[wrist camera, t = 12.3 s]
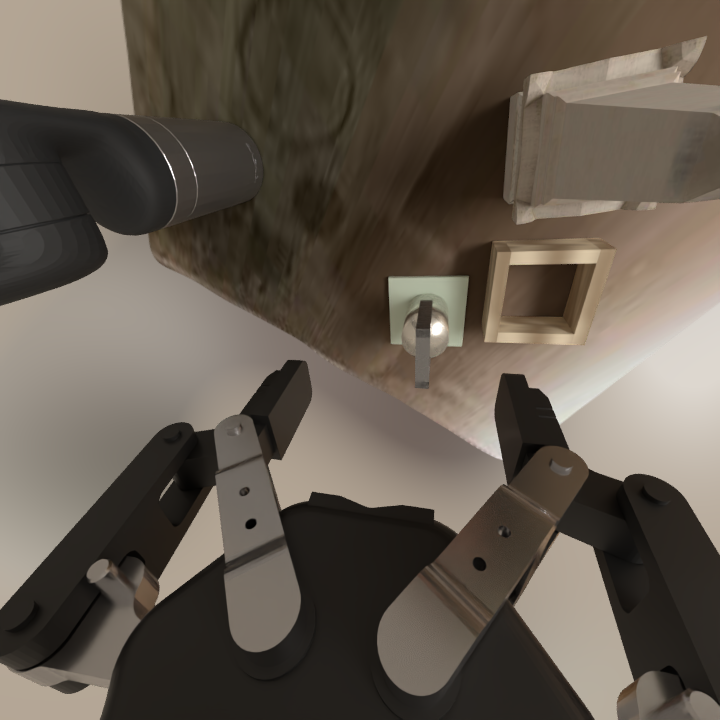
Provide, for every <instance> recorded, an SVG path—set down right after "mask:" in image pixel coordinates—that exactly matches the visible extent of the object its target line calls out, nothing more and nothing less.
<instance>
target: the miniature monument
mask: <svg viewBox="0 0 720 720" xmlns="http://www.w3.org/2000/svg"><path fill="white" fill-rule="evenodd" d="M706 39H707V36H706V37H701V38H697V39H693V40H689V41H685V42H681V43H678V44H674V45H671V46H667V47H664V48H661V49H656V50H651V51H646V52H640V53H635V54H630V55H625V56H620V57H615V58H610V59H605V60H601V61H597V62H593V63H589V64H584V65H580V66H576V67H572V68H568V69H563V70H559V71H555V72H552V71H550V72H542V73H537V74H532V75H530V76H528V77H527V78H526V79H524V86H523V92H519V93H516V94H515V95H513V96H512V97H510V109H509V123H508V137H507V151H506V165H505V179H504V193H503V199H504V200H505V201H506V202H507V203H508V204H513V212H512V220H513V221H514V222H515V223H516V225H517V224H523V223H528V222H531V221H534V220H535V219H540V218H555V217H570V216H582V215H588V214H594V213H600V212H606V211H612V210H619V209H625V210H651V209H655V208H656V204H657V202H659V203H690V202H699V201H708V200H716V199H720V86H714V85H701V84H688V83H683V77H685V76H686V75H687V74H688V73H689V72H690V71H691V69H692V68H693V67H694V65H695V64H696V62H697V60H698V58H699V56H700V54H701V52H702V50H703V47H704V44H705V41H706Z"/></svg>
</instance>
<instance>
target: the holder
mask: <svg viewBox="0 0 720 720" xmlns="http://www.w3.org/2000/svg"><path fill="white" fill-rule="evenodd" d="M616 250H617V249H616V248H614V247H613V246H611V245H610V244H608V243H607V242H605V241H604V240H602V239H600V238H573V239H543V240H512V241H492V248H491V256H490V264H489V271H488V279H487V286H486V294H485V301H484V309H483V317H482V324H481V325H482V331H483V336H484V341H485V342H503V343H534V344H565V345H585V342H586V339H587V336H588V333H589V330H590V327H591V324H592V321H593V318H594V315H595V312H596V309H597V306H598V303H599V301H600V298H601V295H602V292H603V289H604V286H605V283H606V280H607V277H608V274H609V271H610V268H611V265H612V262H613V259H614V256H615V253H616ZM531 264H578V265H577V268H576V272H575V276H574V279H573V283H572V286H571V290H570V293H569V297H568V300H567V304H566V308H565V311H564V315H563V317H539V316H501V312H502V306H503V300H504V294H505V288H506V282H507V276H508V270H509V265H531Z"/></svg>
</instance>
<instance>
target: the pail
mask: <svg viewBox="0 0 720 720" xmlns="http://www.w3.org/2000/svg"><path fill="white" fill-rule="evenodd" d="M401 341H402V344H403V347H404V348H405V350H406V351H407V352H408V353H410V354H411V355H413V356H415V388H425V389H428V388H429V374H430V359H431V358H433V357H436V356H438V355H440V354H441V353H442V352H443V351H444V350H445V349H446V347H447V345H448V342H449V319H448V306H447V304H446V302H445V301H444V299H443V298H441V297H440V296H438V295H436V294H433V293H423V294H420V295H418V296H416V297H415V298H413V299H412V300H411V302H410V303H409V305H408V308H407V313H406V317H405V322H404V326H403V331H402V335H401Z"/></svg>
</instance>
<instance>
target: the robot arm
mask: <svg viewBox="0 0 720 720" xmlns="http://www.w3.org/2000/svg"><path fill="white" fill-rule="evenodd" d="M262 180H263V165H262V160H261V156H260V153H259V151H258V149H257V147H256V145H255V143H254V142H253V140H252V139H251V137H250V136H249V135H248V134H247V133H246V132H245V131H244V130H242V129H241V128H240V127H238V126H236V125H234V124H232V123H228V122H220V121H208V120H195V119H181V118H167V117H153V116H136V115H121V114H110V113H98V112H93V111H87V110H78V109H66V108H57V107H49V106H42V105H34V104H27V103H21V102H14V101H8V100H1V99H0V306H1V305H4V304H8V303H11V302H15V301H18V300H21V299H24V298H28V297H31V296H34V295H37V294H40V293H43V292H46V291H49V290H52V289H55V288H58V287H61V286H64V285H66V284H69V283H72V282H74V281H77V280H79V279H81V278H83V277H85V276H87V275H89V274H91V273H92V272H94V271H96V270H97V269H99V268H100V267H101V266H102V265H103V264H104V262H105V261H106V259H107V255H108V250H107V247H106V244H105V241H104V239H103V236H102V234H101V232H100V230H99V228H98V226H97V224H96V222H97V223H98V224H100V225H101V226H103V227H105V228H107V229H109V230H111V231H114V232H116V233H119V234H123V235H142V234H147V233H150V232H153V231H156V230H159V229H163V228H166V227H169V226H172V225H175V224H178V223H181V222H184V221H187V220H190V219H193V218H196V217H200V216H203V215H206V214H209V213H212V212H215V211H218V210H221V209H225V208H228V207H231V206H234V205H237V204H240V203H243V202H246V201H249V200H250V199H252V198H253V197H254V196H255V195H256V194H257V193H258V191H259V189H260V187H261V184H262ZM311 397H312V388H311V381H310V377H309V371H308V366H307V363H306V361H300V360H288V361H287V362H286V363H285V364H284V366H283V367H282V369H281V370H279V371H278V370H276V371H275V372H273V373H272V374H270V375H269V376H268V377H267V378H266V379H265V380H264V381H263V383H262V384H261V386H260V387H259V388H258V390H257V392H256V393H255V394H254V395H253V396H252V398H251V399H250V401H249V402H248V403H247V405H246V406H245V407H244V409H243V410H242V412H241V413H240V414H239V415H233V416H230V417H228V418H226V419H224V420H223V421H221V422H220V423H219V424H218V425H217V427H216V428H215V429H212V430H206V431H199V432H194V429H193V427H192V426H191V425H190V424H189V423H185V422H181V423H175V424H172V425H169V426H167V427H165V428H163V429H162V430H160V431H159V432H158V433H157V434H156V435H155V436H154V437H153V438H152V439H151V441H150V442H149V443H148V444H147V445H146V446H145V447H144V448H143V450H142V451H141V452H140V453H139V454H138V455H137V456H136V457H135V459H134V460H133V461H132V462H131V463H130V464H129V465H128V466H127V468H126V469H125V470H124V471H123V472H122V473H121V474H120V476H119V477H118V478H117V479H116V480H115V481H114V482H113V483H112V484H111V486H110V487H109V488H108V489H107V490H106V491H105V492H104V493H103V495H102V496H101V497H100V498H99V499H98V500H97V501H96V503H95V504H94V505H93V506H92V507H91V508H90V509H89V510H88V512H87V513H86V514H85V515H84V516H83V517H82V518H81V519H80V521H79V522H78V523H77V524H76V525H75V526H74V528H72V530H71V531H70V532H69V533H68V534H67V535H66V536H65V537H64V539H63V540H62V541H61V542H60V543H59V544H58V545H57V546H56V548H55V549H54V550H53V551H52V552H51V553H50V554H49V556H48V557H47V558H46V559H45V560H44V561H43V562H42V563H41V565H40V566H39V567H38V568H37V569H36V570H35V571H34V572H33V574H32V575H31V576H30V577H29V578H28V579H27V580H26V582H25V583H24V584H23V585H22V586H21V587H20V588H19V589H18V591H17V592H16V593H15V594H14V595H13V596H12V597H11V598H10V600H9V601H8V602H7V603H6V604H5V605H4V606H3V607H2V609H1V610H0V663H2V664H4V665H6V666H7V667H8V669H9V670H10V671H12V672H14V673H16V674H18V675H20V676H23V677H24V678H26V679H29V680H31V681H33V682H35V683H37V684H39V685H42V686H50V687H52V688H54V689H56V690H58V691H60V692H62V693H65V694H72V693H76V692H78V691H80V690H82V689H84V688H86V687H87V686H89V685H95V686H99V687H104V688H109V689H108V694H107V698H106V701H105V705H104V708H103V712H102V715H101V718H100V720H594V718H593V716H592V715H591V713H590V712H589V710H588V709H587V708H586V706H585V704H584V703H583V702H582V700H581V699H580V698H579V696H578V695H577V693H576V692H575V691H574V690H573V688H572V687H571V685H570V684H569V682H568V681H567V680H566V679H565V677H564V676H563V674H562V673H561V672H560V670H559V669H558V667H557V666H556V665H555V663H554V662H553V660H552V659H551V658H550V656H549V655H548V654H547V652H546V651H545V649H544V648H543V647H542V645H541V644H540V643H539V641H538V640H537V638H536V637H535V636H534V635H533V633H532V632H531V630H530V629H529V627H528V626H527V625H526V623H525V622H524V621H523V619H522V618H521V616H520V615H519V614H518V613H517V611H516V610H515V608H514V606H515V604H516V603H517V601H518V600H519V598H520V596H521V595H522V593H523V592H524V590H525V588H526V586H527V585H528V583H529V581H530V579H531V577H532V576H533V574H534V572H535V571H536V569H537V568H538V566H539V564H540V563H541V561H542V560H543V558H544V557H545V555H546V553H547V552H548V550H549V549H550V547H551V546H552V544H553V542H554V541H555V539H556V537H557V536H558V535H559V533H560V532H561V533H563V534H565V535H568V536H570V537H572V538H575V539H577V540H579V541H582V542H584V543H586V544H589V545H591V546H593V548H594V551H595V555H596V558H597V561H598V564H599V568H600V571H601V574H602V578H603V581H604V584H605V587H606V590H607V594H608V597H609V601H610V604H611V607H612V610H613V614H614V617H615V620H616V623H617V627H618V630H619V633H620V636H621V640H622V643H623V646H624V649H625V653H626V656H627V659H628V662H629V666H630V669H631V672H632V675H633V679H634V682H633V683H631V684H630V685H629V686H627V687H626V688H625V689H623V690H622V692H621V693H620V695H619V697H618V700H617V715H618V720H720V555H719V553H718V552H717V550H716V548H715V547H714V545H713V543H712V542H711V540H710V538H709V537H708V535H707V534H706V532H705V530H704V528H703V527H702V525H701V523H700V522H699V520H698V518H697V517H696V515H695V514H694V512H693V510H692V509H691V507H690V505H689V504H688V502H687V500H686V499H685V498H684V496H683V495H682V494H681V493H680V492H679V491H678V490H677V489H675V488H674V487H672V486H671V485H670V484H668V483H667V482H665V481H663V480H661V479H658V478H656V477H653V476H650V475H645V474H633V475H630V476H628V477H626V478H625V480H624V482H622V481H619V480H616V479H613V478H610V477H607V476H605V475H602V474H599V473H596V472H594V471H592V470H590V469H588V467H587V465H586V463H585V462H584V460H583V459H582V458H581V457H579V456H578V455H577V454H576V453H574V452H572V451H570V450H569V447H568V445H567V442H566V440H565V438H564V435H563V433H562V430H561V428H560V425H559V423H558V421H557V419H556V416H555V413H554V411H553V410H552V406H551V404H550V401H549V399H548V397H547V396H546V395H545V394H543V393H542V392H541V391H540V390H539V389H536V388H529V387H528V384H527V381H526V378H525V376H524V375H523V374H506V373H503V374H502V375H501V379H500V384H499V388H498V393H497V398H496V403H495V422H496V427H497V432H498V438H499V443H500V448H501V453H502V459H503V464H504V469H505V474H506V480H507V485H508V486H506V485H504V484H503V485H501V486H500V487H499V488H498V489H497V490H496V491H495V492H494V494H493V495H492V496H491V497H490V498H489V499H488V500H487V502H486V503H485V504H484V505H483V506H482V507H481V508H480V510H479V511H478V512H477V513H476V514H475V515H474V517H473V518H472V519H471V520H470V521H469V522H468V524H467V525H466V526H465V527H464V528H463V529H462V530H461V531H460V533H459V534H457V533H456V532H455V531H453V530H452V529H450V528H449V527H447V526H445V525H444V524H442V523H440V522H438V521H435V520H434V510H431V509H425V508H419V507H412V506H405V505H398V506H387V507H377V508H368V507H365V506H363V505H360V504H358V503H356V502H353V501H351V500H349V499H346V498H344V497H342V496H337V495H330V494H324V493H317V492H312V493H311V496H310V499H309V501H306V502H301V503H297V504H294V505H291V506H289V507H287V508H285V509H283V510H281V507H280V504H279V501H278V497H277V494H276V491H275V488H274V484H273V481H272V477H271V474H270V470H269V467H268V464H269V462H270V460H271V459H277V460H282V458H283V456H284V454H285V452H286V450H287V448H288V446H289V444H290V442H291V440H292V438H293V436H294V434H295V432H296V430H297V428H298V426H299V424H300V422H301V420H302V418H303V416H304V414H305V412H306V410H307V408H308V406H309V404H310V401H311ZM172 478H173V480H174V481H173V483H172V484H171V485H170V487H169V488H168V490H167V491H166V492H165V494H164V495H163V497H162V498H161V499H160V496H161V493H162V492H163V490H164V489H165V487H166V486H167V485H168V483H169V482H170V481H171V479H172ZM215 485H216V487H217V495H218V503H219V512H220V520H221V529H222V537H223V546H224V554H223V555H221V556H220V557H219V558H217V559H216V560H215V561H213V562H212V563H211V564H210V565H208V566H207V567H206V568H204V569H203V570H202V571H200V572H199V573H198V574H196V575H195V576H194V577H193V578H191V579H190V580H189V581H187V582H186V583H185V584H183V585H182V586H181V587H179V588H178V589H177V590H175V591H174V592H173V593H172V594H170V595H169V596H167V597H166V598H165V599H164V600H162V601H161V602H160V603H159V604H157V605H156V606H155V602H156V600H157V598H158V595H159V582H158V579H159V578H160V576H161V574H162V572H163V571H164V569H165V567H166V565H167V564H168V562H169V561H170V559H171V557H172V555H173V554H174V552H175V550H176V549H177V547H178V545H179V544H180V542H181V540H182V538H183V537H184V535H185V533H186V532H187V530H188V528H189V526H190V525H191V523H192V521H193V520H194V518H195V516H196V515H197V513H198V511H199V509H200V508H201V506H202V504H203V503H204V501H205V499H206V498H207V496H208V494H209V492H210V491H211V489H212V487H213V486H215ZM159 499H160V501H159Z"/></svg>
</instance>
